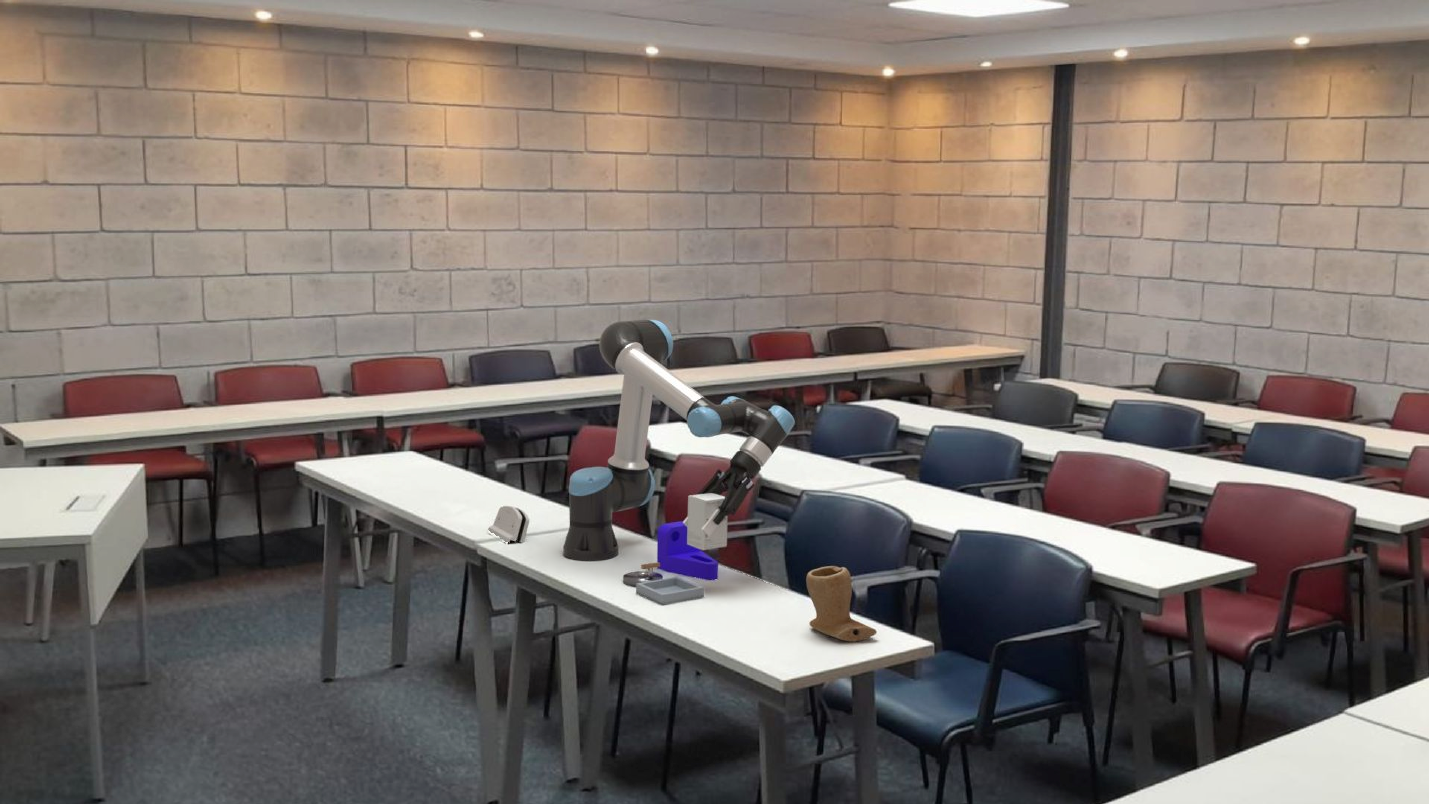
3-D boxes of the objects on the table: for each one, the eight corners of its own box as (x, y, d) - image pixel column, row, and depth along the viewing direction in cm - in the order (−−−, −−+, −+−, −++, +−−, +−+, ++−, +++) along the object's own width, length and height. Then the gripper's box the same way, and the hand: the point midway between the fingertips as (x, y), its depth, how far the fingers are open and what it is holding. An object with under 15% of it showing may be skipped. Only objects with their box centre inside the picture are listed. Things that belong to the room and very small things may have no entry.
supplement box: (703, 551, 315) (704, 500, 313) (686, 544, 321) (687, 494, 319) (727, 547, 319) (728, 497, 317) (710, 540, 325) (711, 491, 323)
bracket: (657, 568, 340) (657, 525, 339) (690, 562, 347) (690, 519, 345) (697, 583, 326) (698, 538, 325) (731, 577, 333) (732, 532, 331)
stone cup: (795, 628, 289) (796, 563, 287) (840, 622, 295) (841, 558, 293) (831, 648, 276) (833, 580, 274) (877, 640, 281) (879, 574, 279)
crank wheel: (615, 580, 328) (616, 559, 327) (649, 574, 334) (649, 554, 333) (636, 589, 320) (636, 567, 319) (670, 583, 325) (670, 562, 325)
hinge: (486, 532, 378) (497, 500, 379) (500, 536, 381) (511, 504, 381) (507, 544, 364) (518, 511, 364) (522, 548, 366) (533, 515, 367)
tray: (636, 593, 316) (636, 583, 316) (676, 586, 323) (676, 576, 323) (662, 605, 306) (662, 595, 306) (704, 597, 313) (704, 587, 313)
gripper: (783, 475, 318) (728, 547, 311) (734, 461, 334) (681, 530, 327) (766, 456, 314) (710, 528, 307) (718, 443, 330) (664, 512, 323)
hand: (695, 529), depth 317 cm, fingers closed on supplement box, 7 cm apart
